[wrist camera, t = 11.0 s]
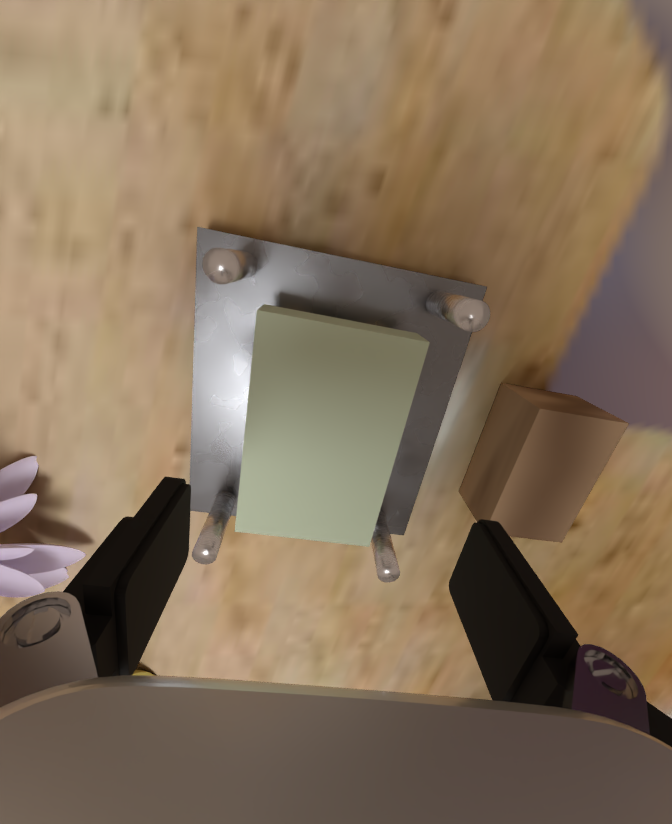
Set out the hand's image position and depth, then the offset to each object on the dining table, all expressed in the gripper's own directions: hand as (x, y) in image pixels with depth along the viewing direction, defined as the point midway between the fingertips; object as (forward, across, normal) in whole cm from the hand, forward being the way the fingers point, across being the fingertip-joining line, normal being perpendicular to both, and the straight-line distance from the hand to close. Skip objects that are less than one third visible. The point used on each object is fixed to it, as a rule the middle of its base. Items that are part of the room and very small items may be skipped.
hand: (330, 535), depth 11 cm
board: (+7, 0, 0) cm, 7 cm away
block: (+11, -12, 0) cm, 17 cm away
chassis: (+11, 0, -1) cm, 11 cm away
